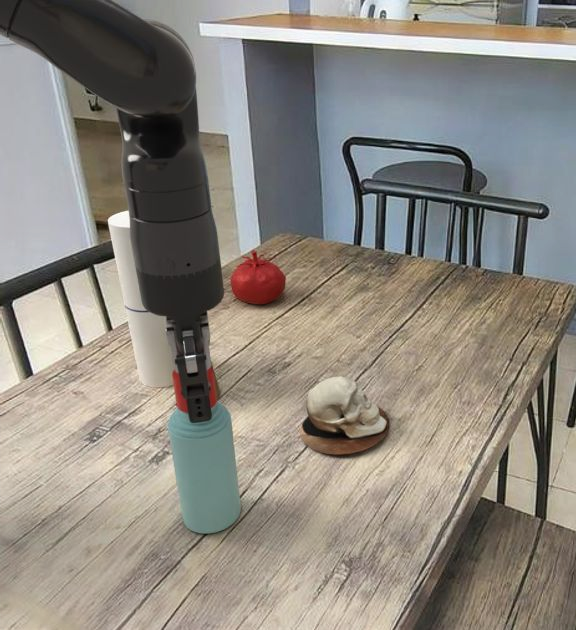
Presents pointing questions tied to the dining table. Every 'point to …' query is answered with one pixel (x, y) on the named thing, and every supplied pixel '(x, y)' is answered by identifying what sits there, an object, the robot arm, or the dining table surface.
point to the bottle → (205, 470)
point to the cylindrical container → (140, 313)
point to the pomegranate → (257, 280)
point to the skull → (342, 418)
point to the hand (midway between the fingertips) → (199, 407)
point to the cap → (182, 402)
